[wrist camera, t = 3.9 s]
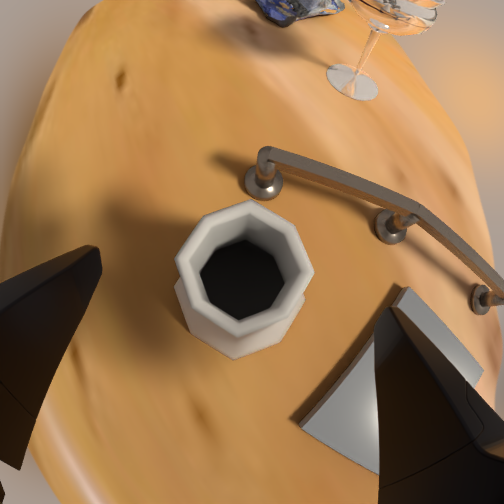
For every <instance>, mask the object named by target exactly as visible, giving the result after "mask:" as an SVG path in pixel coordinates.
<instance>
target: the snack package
mask: <svg viewBox="0 0 504 504" xmlns="http://www.w3.org/2000/svg"><path fill="white" fill-rule="evenodd" d="M256 1H257V3H258V4H259V6H260V7H261V9H262V10H263V12H264V14H265V15H266V18H268V19H269V20H271V21H273V22H275V23H277V24H278V25H279V26H281V27H288V26H289V25H291V24H293V23H294V22H295V21H297V20H299V19H300V20H301V19H305V18H307V17H312V16H316V15H323V14H337V13H339V12H340V11H342V10H344V9H345V5H344V3H342V2H341V1H340V0H256ZM338 7H339V8H340V9H337V8H338ZM290 8H294V9H290ZM325 9H332V10H333V9H334V10H337V12H336V13H327V12H325V11H323V12H320V11H321V10H325ZM265 12H266V13H267V14H268V16H267V14H266V13H265Z"/></svg>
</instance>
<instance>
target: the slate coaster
mask: <svg viewBox="0 0 504 504" xmlns="http://www.w3.org/2000/svg"><path fill="white" fill-rule="evenodd" d="M392 306H394V307H398V308H400V309H401V310H402V311H403V312H404V313H405V314H406V315H407V316H408V317H409V318H410V319H411V320H412V321H413V322H414V323H415V324H416V325H417V326H418V328H419V329H420V330H421V331H422V332H423V333H424V334H425V335H426V336H427V337H428V338H429V339H430V340H431V341H432V342H433V343H434V344H435V345H436V347H437V348H438V349H439V350H440V351H441V352H442V353H443V354H444V355H445V356H446V357H447V359H448V360H449V361H450V362H451V363H452V364H453V365H454V366H455V367H456V369H457V370H458V371H459V372H460V373H461V374H462V375H463V376H464V378H465V379H466V381H468V382H469V383H470V385H471V386H472V387H473V388H475V386H476V385H477V383H478V381H479V379H480V377H481V375H482V373H483V371H484V370H483V368H482V367H481V366H480V365H479V363H478V362H477V361H476V360H475V358H474V357H473V356H472V355H471V354H470V352H469V351H468V350H467V349H466V348H465V346H464V345H463V344H462V343H461V342H460V341H459V340H458V338H457V337H456V336H455V335H454V334H453V333H452V332H451V330H450V329H449V328H448V327H447V326H446V325H445V324H444V323H443V322H442V320H441V319H440V318H439V317H438V316H437V315H436V314H435V313H434V312H433V311H432V310H431V309H430V308H429V306H428V305H427V304H426V303H425V302H424V301H423V300H422V299H421V298H420V297H419V296H418V295H417V294H416V293H415V292H414V291H413V290H412V289H411V288H410V287H404V288H402V290H401V292H400V293H399V295H398V296H397V298H396V300H395V301H394V303H393V304H392ZM299 426H300V427H301V429H303V430H304V431H306V432H307V433H309V434H310V435H312V436H313V437H315V438H316V439H318V440H320V441H321V442H323V443H324V444H326V445H328V446H329V447H331V448H332V449H334V450H336V451H337V452H339V453H341V454H342V455H344V456H346V457H347V458H349V459H351V460H353V461H354V462H356V463H358V464H360V465H361V466H363V467H365V468H367V469H369V470H371V471H372V472H374V473H376V474H378V475H379V430H378V411H377V397H376V385H375V373H374V333H373V334H372V335H371V337H370V338H369V340H368V341H367V342H366V344H365V345H364V347H363V348H362V349H361V351H360V352H359V353H358V355H357V356H356V357H355V359H354V360H353V361H352V362H351V364H350V365H349V366H348V368H347V369H346V370H345V371H344V373H343V374H342V375H341V376H340V378H339V379H338V380H337V381H336V382H335V384H334V385H333V386H332V387H331V388H330V390H329V391H328V392H327V393H326V394H325V395H324V397H323V398H322V399H321V400H320V401H319V402H318V403H317V404H316V406H315V407H314V408H313V409H312V410H311V411H310V412H309V413H308V414H307V415H306V416H305V418H304V419H303V420H302V421H301V422H300V423H299Z"/></svg>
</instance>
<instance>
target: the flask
mask: <svg viewBox="0 0 504 504" xmlns="http://www.w3.org/2000/svg"><path fill="white" fill-rule="evenodd" d="M174 260H175V263H176V266H177V269H178V272H179V275H180V278H179V279H178V281H177V282H176V284H175V285H174V289H175V292H176V295H177V298H178V301H179V303H180V306H181V309H182V312H183V315H184V317H185V320H186V323H187V325H188V328H189V331H190V333H191V334H192V335H194V336H195V337H197V338H198V339H200V340H201V341H203V342H204V343H206V344H208V345H209V346H211V347H212V348H214V349H216V350H217V351H219V352H220V353H222V354H224V355H225V356H227V357H229V358H230V359H232V360H236V359H239V358H241V357H244V356H247V355H249V354H252V353H254V352H257V351H260V350H262V349H265V348H267V347H270V346H272V345H275V344H277V343H280V342H281V340H282V339H283V337H284V335H285V334H286V332H287V330H288V329H289V327H290V326H291V324H292V322H293V321H294V319H295V317H296V316H297V314H298V312H299V310H300V309H301V307H302V305H303V304H304V302H305V300H306V299H305V297H304V294H303V292H304V290H305V289H306V287H307V285H308V283H309V282H310V280H311V278H312V276H313V275H314V273H315V272H314V270H313V267H312V265H311V263H310V260H309V258H308V255H307V253H306V251H305V248H304V246H303V244H302V241H301V239H300V237H299V234H298V232H297V230H296V227H295V225H293V224H292V223H290V222H288V221H287V220H285V219H284V218H282V217H280V216H279V215H277V214H275V213H274V212H272V211H270V210H269V209H267V208H265V207H264V206H262V205H260V204H259V203H257V202H255V201H254V200H252V199H250V200H247V201H244V202H241V203H238V204H235V205H232V206H230V207H227V208H224V209H221V210H218V211H215V212H213V213H210V214H207V215H204V216H203V217H202V218H201V220H200V221H199V223H198V224H197V225H196V227H195V228H194V230H193V231H192V233H191V234H190V236H189V237H188V239H187V240H186V241H185V243H184V244H183V246H182V247H181V249H180V250H179V252H178V253H177V255H176V256H175V258H174Z"/></svg>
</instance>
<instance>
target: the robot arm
mask: <svg viewBox="0 0 504 504" xmlns="http://www.w3.org/2000/svg"><path fill="white" fill-rule="evenodd" d="M101 275H102V263H101V256H100V251H99V248H98V247H96V246H92V245H85V246H82V247H80V248H77V249H75V250H73V251H70V252H68V253H65V254H63V255H61V256H58V257H56V258H54V259H52V260H49V261H47V262H45V263H43V264H40V265H38V266H36V267H34V268H32V269H29V270H27V271H25V272H23V273H21V274H19V275H17V276H15V277H13V278H10V279H8V280H6V281H4V282H2V283H0V460H1V461H3V462H4V463H6V464H8V465H10V466H11V467H13V468H15V469H17V470H20V469H21V466H22V463H23V459H24V456H25V452H26V449H27V446H28V443H29V440H30V437H31V434H32V431H33V428H34V425H35V422H36V419H37V416H38V414H39V411H40V408H41V406H42V403H43V401H44V398H45V396H46V393H47V391H48V389H49V386H50V384H51V382H52V379H53V377H54V375H55V372H56V370H57V368H58V366H59V364H60V361H61V359H62V357H63V355H64V353H65V351H66V349H67V347H68V345H69V343H70V341H71V339H72V337H73V335H74V333H75V331H76V329H77V327H78V325H79V323H80V321H81V320H82V318H83V316H84V314H85V311H86V309H87V307H88V305H89V302H90V300H91V297H92V295H93V293H94V291H95V288H96V286H97V284H98V282H99V279H100V277H101ZM374 373H375V385H376V397H377V411H378V430H379V491H378V504H504V421H503V420H502V419H501V418H500V417H499V415H498V414H497V413H496V412H495V411H494V410H493V409H492V408H491V407H490V406H489V405H488V404H487V403H486V402H485V400H484V399H483V398H482V397H481V396H480V395H479V394H478V393H477V391H476V390H475V389H474V388H473V387H472V386H471V385H470V383H469V382H468V381H466V379H465V378H464V376H463V375H462V374H461V373H460V372H459V371H458V370H457V369H456V367H455V366H454V365H453V364H452V363H451V362H450V361H449V360H448V359H447V357H446V356H445V355H444V354H443V353H442V352H441V351H440V350H439V349H438V348H437V347H436V345H435V344H434V343H433V342H432V341H431V340H430V339H429V338H428V337H427V336H426V335H425V334H424V333H423V332H422V331H421V330H420V329H419V328H418V326H417V325H416V324H415V323H414V322H413V321H412V320H411V319H410V318H409V317H408V316H407V315H406V314H405V313H404V312H403V311H402V310H401V309H400V308H398V307H394V306H387V307H386V308H385V309H384V310H383V312H382V314H381V315H380V317H379V319H378V320H377V322H376V324H375V326H374ZM4 496H5V492H4V490H3V487H2V484H1V481H0V504H2V502H3V499H4Z"/></svg>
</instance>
